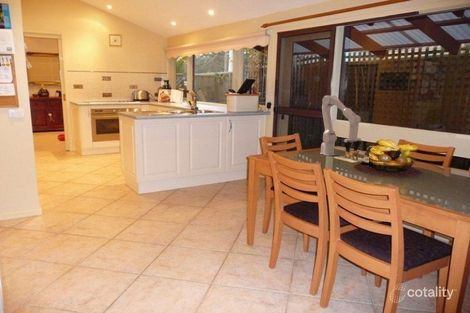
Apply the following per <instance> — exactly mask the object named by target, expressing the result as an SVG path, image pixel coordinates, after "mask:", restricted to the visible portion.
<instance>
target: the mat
mask: <svg viewBox="0 0 470 313" xmlns="http://www.w3.org/2000/svg"><path fill="white" fill-rule="evenodd" d="M344 157H345V155H341V156H333V158H334V159H336V160H339V161H340V160H341V161H343V162H348V163H351V164H356V163H361V161H362V159H363V158H361V157H358V160H356V156H354V160H352V157H351V158H349V156H347V158H344Z"/></svg>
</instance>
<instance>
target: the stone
mask: <svg viewBox="0 0 470 313" xmlns="http://www.w3.org/2000/svg"><path fill="white" fill-rule="evenodd" d="M375 146H376V145H369V146H368V147H367V148H366V149H365V150H366V151H365V152H364V153H363V158H362V161H361V162H360V164H370V163H369V152H370V149H371V148H372V147H375Z"/></svg>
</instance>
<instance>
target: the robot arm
mask: <svg viewBox="0 0 470 313" xmlns="http://www.w3.org/2000/svg"><path fill="white" fill-rule="evenodd" d="M321 101H322V102H321V103H322V105H321V111H322V118H323V125H324V132H323V135H322V141H323V142H322V143H321V145H320V152H319V155H323V156H328V157H330V156H337V154H336V153H335V143H336V142H337V139H338V136H337V134H336V131H334V129H333V123H332V117H331V116H332V115H331V111H330V110H331V108H332V107H333V106H336V108H338V109H339V110H340V111H342V115H343V116H344V117H345V118H346V119H347V120H348V122H349V130H348V131H349V132H348V138H345V139H344V140H343V144H344V146H345V150H346V152H349V151H350V149H351V146H352V143H353V150H356V151H358V148H359V146H360V145H361V144H362V139H361V138H360V137H358V134H359V124H360V123H361V120H362V119H361V118H362V117H361V116H360V115H357V114H356V113H355V112H354V111H352V108H350V107H346V106H345V104H343V103H342V101H340V99H339V97H337V96H336V95H324V96H323V97H322V99H321Z"/></svg>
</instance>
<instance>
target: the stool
mask: <svg viewBox="0 0 470 313" xmlns="http://www.w3.org/2000/svg"><path fill="white" fill-rule="evenodd" d="M359 153H360V151H359V150H357V151H356V150H354V149H351V148H350V151H349V152H346V149H344V156H345V157H344V158H347V156H349V158H351V157H352V160H354V157H356V160H358V158H359Z"/></svg>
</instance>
